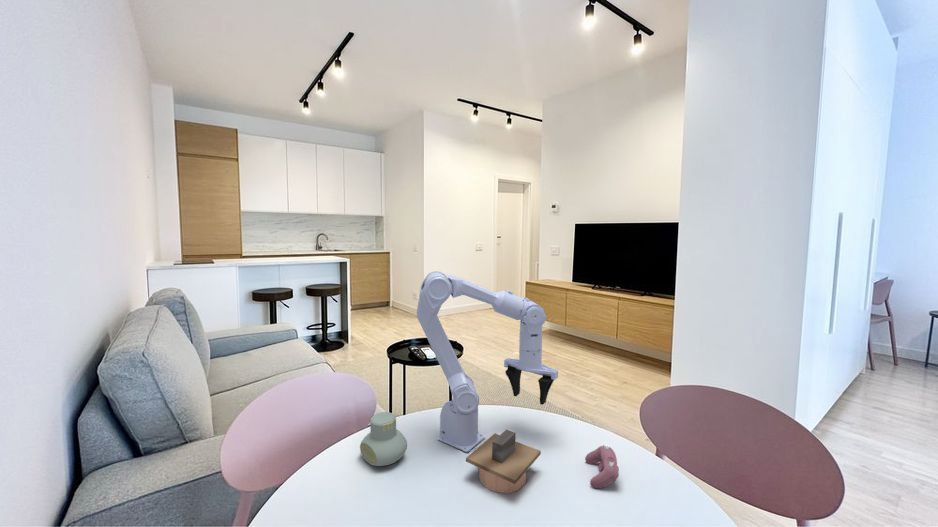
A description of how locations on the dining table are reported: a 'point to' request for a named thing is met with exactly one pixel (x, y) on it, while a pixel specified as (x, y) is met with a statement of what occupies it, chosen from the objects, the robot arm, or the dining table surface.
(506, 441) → the lid
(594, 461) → the video game controller
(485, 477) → the bowl
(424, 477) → the dining table surface
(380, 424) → the air freshener
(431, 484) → the dining table surface
